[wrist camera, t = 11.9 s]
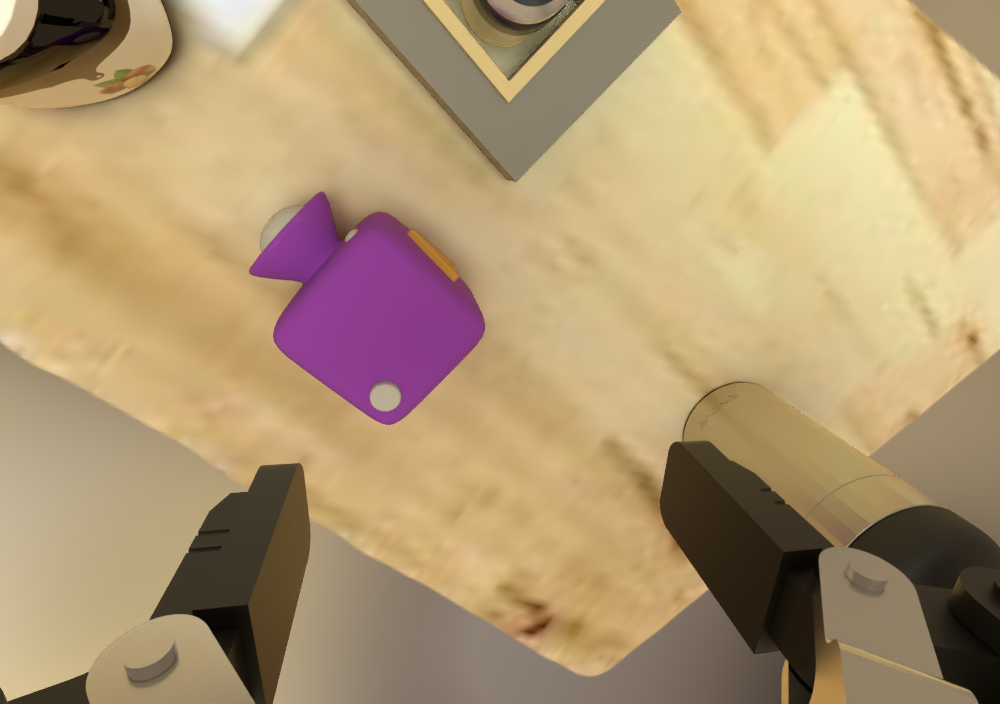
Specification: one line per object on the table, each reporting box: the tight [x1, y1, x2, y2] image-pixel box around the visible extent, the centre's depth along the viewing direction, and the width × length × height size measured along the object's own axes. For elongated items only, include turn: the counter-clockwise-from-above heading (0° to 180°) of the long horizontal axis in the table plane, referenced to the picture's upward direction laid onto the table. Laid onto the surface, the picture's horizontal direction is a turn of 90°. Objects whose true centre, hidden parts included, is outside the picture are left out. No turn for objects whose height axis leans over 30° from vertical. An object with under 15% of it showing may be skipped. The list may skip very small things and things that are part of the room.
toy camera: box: [249, 192, 485, 425], centre depth 32 cm, size 11×14×10 cm
